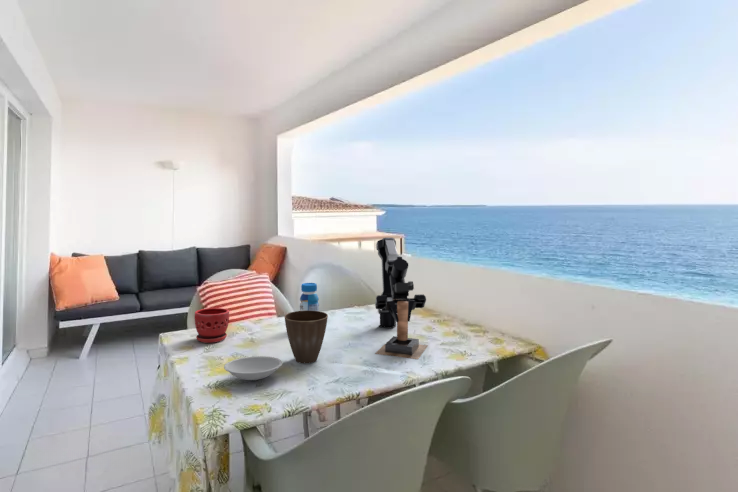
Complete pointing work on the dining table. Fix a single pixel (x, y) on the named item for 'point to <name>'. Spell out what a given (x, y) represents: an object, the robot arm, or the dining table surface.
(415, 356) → the walnut board
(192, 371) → the dining table surface
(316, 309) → the beverage bottle
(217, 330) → the plant pot
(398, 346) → the black collar
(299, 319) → the plant pot
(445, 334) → the dining table surface
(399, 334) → the terracotta pin
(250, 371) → the dish
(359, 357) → the dining table surface
